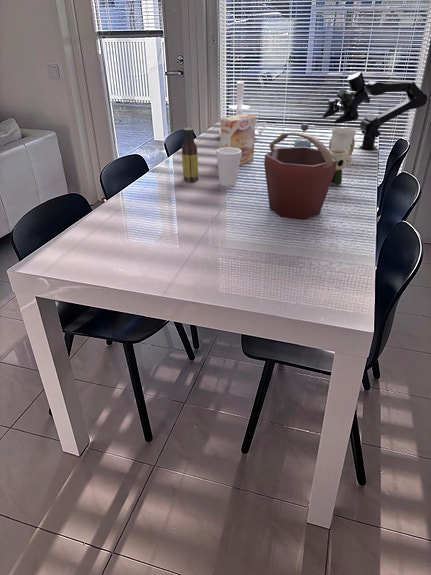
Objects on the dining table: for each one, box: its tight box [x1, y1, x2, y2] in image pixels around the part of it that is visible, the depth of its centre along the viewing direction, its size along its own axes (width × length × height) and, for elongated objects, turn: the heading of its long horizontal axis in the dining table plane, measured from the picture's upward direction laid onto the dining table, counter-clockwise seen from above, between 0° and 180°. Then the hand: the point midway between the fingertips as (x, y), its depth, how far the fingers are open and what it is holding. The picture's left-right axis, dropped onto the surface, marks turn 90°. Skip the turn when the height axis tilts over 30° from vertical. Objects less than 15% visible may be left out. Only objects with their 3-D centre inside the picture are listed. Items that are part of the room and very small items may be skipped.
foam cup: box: [216, 147, 241, 188], centre depth 167 cm, size 10×9×13 cm
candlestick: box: [218, 80, 267, 137], centre depth 224 cm, size 21×25×28 cm
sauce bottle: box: [181, 127, 199, 183], centre depth 169 cm, size 6×6×20 cm
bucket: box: [263, 132, 337, 221], centre depth 142 cm, size 24×22×25 cm
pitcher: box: [328, 127, 357, 162], centre depth 196 cm, size 11×18×14 cm, turn 160°
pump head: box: [300, 123, 309, 133], centre depth 204 cm, size 3×3×3 cm
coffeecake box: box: [219, 113, 257, 166], centre depth 189 cm, size 15×7×20 cm, turn 131°
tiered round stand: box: [293, 138, 312, 148], centre depth 209 cm, size 13×13×6 cm
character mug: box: [328, 149, 353, 186], centre depth 168 cm, size 11×7×13 cm, turn 73°
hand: (328, 120), depth 202 cm, fingers open, 9 cm apart
